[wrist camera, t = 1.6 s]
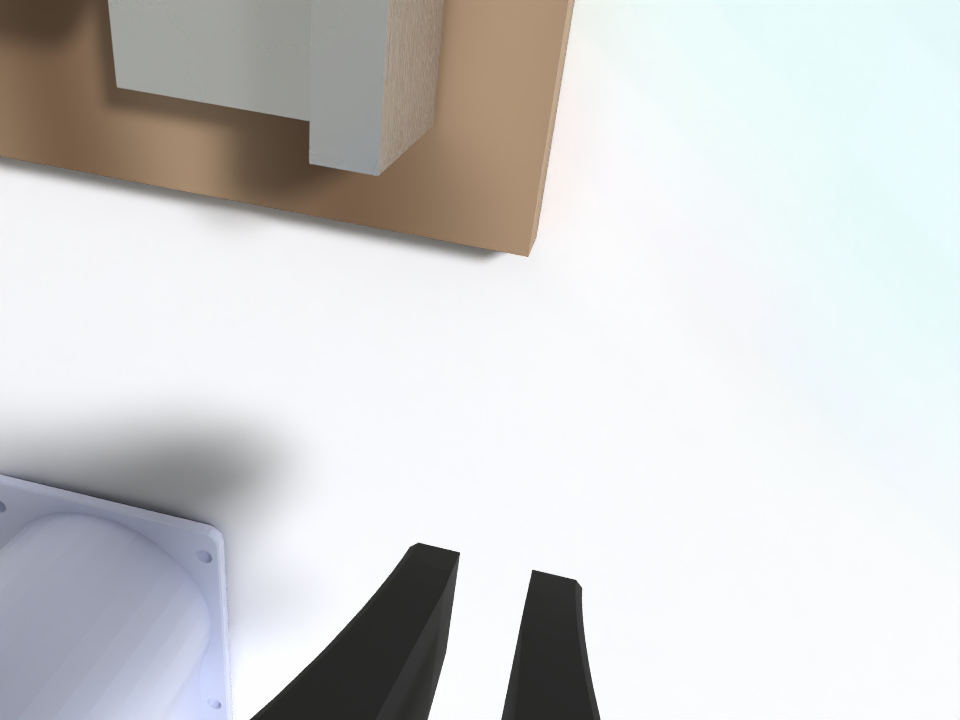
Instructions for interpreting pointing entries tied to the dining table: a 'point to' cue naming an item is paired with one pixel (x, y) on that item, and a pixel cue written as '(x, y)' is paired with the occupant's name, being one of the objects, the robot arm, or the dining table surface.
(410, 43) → the brushed steel block
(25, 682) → the robot arm
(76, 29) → the gauge frame
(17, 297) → the dining table surface
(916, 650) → the dining table surface
